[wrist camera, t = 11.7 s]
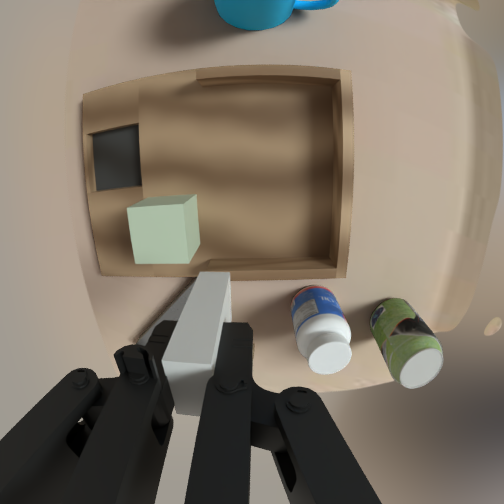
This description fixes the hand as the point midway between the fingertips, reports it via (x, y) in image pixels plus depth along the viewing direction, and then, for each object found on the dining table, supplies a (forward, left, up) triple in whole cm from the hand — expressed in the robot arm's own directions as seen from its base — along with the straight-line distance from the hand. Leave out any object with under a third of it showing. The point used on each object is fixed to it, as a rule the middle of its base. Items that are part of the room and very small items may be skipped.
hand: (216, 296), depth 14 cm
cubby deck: (-5, -3, -15) cm, 16 cm away
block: (-1, -6, -14) cm, 15 cm away
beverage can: (+12, +18, -15) cm, 27 cm away
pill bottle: (+10, +8, -15) cm, 20 cm away
